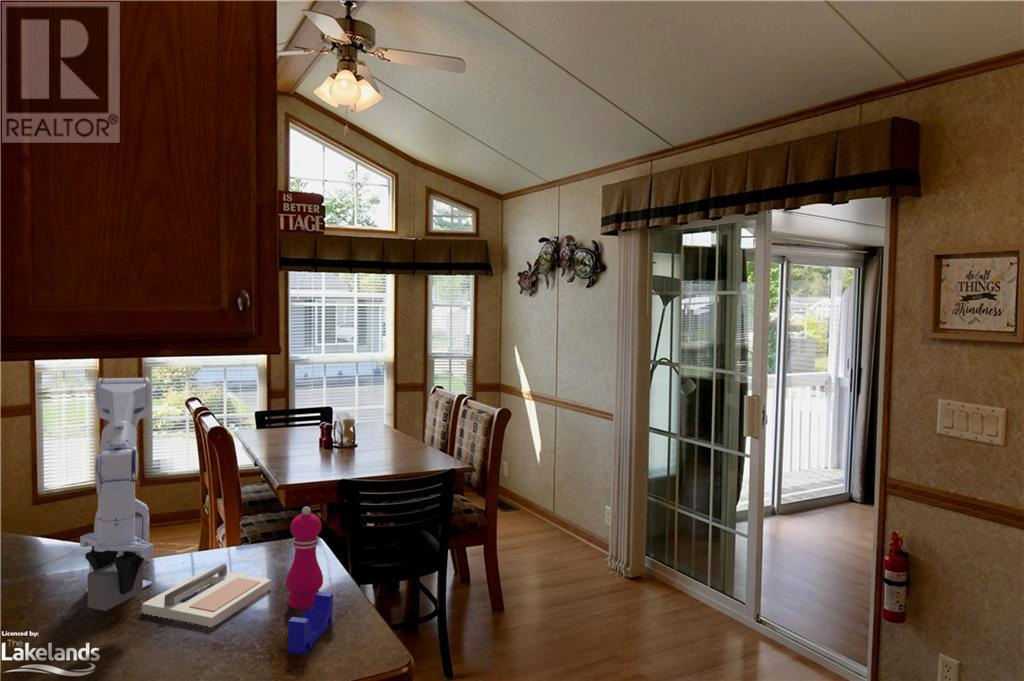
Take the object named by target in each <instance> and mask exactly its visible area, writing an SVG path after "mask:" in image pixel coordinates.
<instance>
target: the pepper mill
mask: <svg viewBox="0 0 1024 681" xmlns="http://www.w3.org/2000/svg"><path fill="white" fill-rule="evenodd" d="M311 512H312V510H311V507H309V506H304V507H303V508H302V509H301V513H300V514H298V515H296V516H295V517H294V518H293V519H292V520H291V523H290V529H289V530H290V534H291V535H292V536H293V538H292V546H293V547H294V556H293V557H294V558H293V561H292V564H291V567H290V568H289V571H288V573H287V576H286V582H285V583H286V584H285V587H286V589H287V591H288V592H289V593H288V598H287V600H288V602H287V605H288V607H290V608H291V609H295V610H307V609H308V608H309V607H310V606H314V600H315V594H316V593H317V592H318V591H319V590H320V589H321V587H323V584H324V575H323V572H322V570H321V567H320V565H319V562H318V558H317V546H318V545H319V536H318V535H319V534H320V532H321V530H322V522H321V519H320V517H319V516H318V515H316V514H314V513H311Z"/></svg>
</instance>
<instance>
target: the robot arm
mask: <svg viewBox="0 0 1024 681" xmlns="http://www.w3.org/2000/svg"><path fill="white" fill-rule="evenodd" d="M94 387H95V391H94V392H95V393H94V396H95V397H94V398H95V399H94V400H95V406H96V411H97V414H98V417H99V418H100V419H101V420H105V421H108V422H109V423H108V424H107V425H105V426H104V427H103V429H102V431H101V438H100V447H99V454H98V453H96V454H95V459H94V478H95V483H96V495H97V498H98V499H97V510H96V513H95V520H94V525H93V532H89V533H86V534H84V535H83V534H82V535H81V536H80V538H79V539H80V540H79V547H81V548H88V547H90V548H91V549H90V551H89V552H86V553H85V555H84V558H85V559H86V561H87V562H88V574H89V573H91V572H93V571H95V570H98V569H100V568H102V567H104V566H107V565H109V564H111V563H113V562H114V563H115V565H116V568H117V571H118V576H119V589H120V593H121V594H126V593H128V592H130V591H132V590H133V586H134V583H135V579H136V576H137V573H138V571H139V568H140V566H141V564H142V563H143V564H144V561H145V559H146V558H149V557H151V556H153V555H154V554H155V552H154V550H155V548H154V547H155V544H154V543H151V542H149V540H150V513H149V510H150V509H149V507H148V505H147V504H146V503H145V502H143V501H141V500H139V499H137V497H136V481H137V478H138V475H139V453H138V450H137V449H138V448H137V446H138V445H137V438H138V431H137V427H138V425H139V422H140V420H142V419H144V418H146V417H148V416H149V412H150V409H151V406H150V405H151V379H150V378H149V377H148V376H145V377H119V378H118V377H116V378H111V377H110V378H108V377H107V378H103V377H98V379H97V380H96V381H95V386H94ZM152 584H153V582H152V581H150V580H146V579H143V589H145V588H147V587H149V586H150V585H152ZM85 593H88V588H86V589H85Z"/></svg>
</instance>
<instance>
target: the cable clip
mask: <svg viewBox="0 0 1024 681" xmlns="http://www.w3.org/2000/svg"><path fill="white" fill-rule="evenodd" d="M333 604H334V592H327V591H319V590H318V592H317V593H316V594H315V600H314V606H310V607H309V608H308V609H305V611H303V615H302V616H301V617H297V616H292V617H291V618H290V619H289V620H288V627H287V628H288V629H287V635H288V637H287V653H288V654H295V655H302V656H304V655H305V654H306V653H307V652H308V651H309V650H310V649H311V647H313V645H314V643H316V642H317V641H318V640H319V638H320V637H321V636H323V634H324V632H326V631H327V629H328V628H329V627H330V626H331V625H332V624H333V612H334V611H333V606H334V605H333Z"/></svg>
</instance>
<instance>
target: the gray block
mask: <svg viewBox="0 0 1024 681" xmlns="http://www.w3.org/2000/svg"><path fill="white" fill-rule="evenodd" d="M143 564H144V562H143V563H142V564H141V566H140V568H139V571H138V573H137V576H136V579H135V583H134V586H133V590H132V591H130V592H128V593H126V594H121V593H120V589H119V576H118V571H117V568H116V565H115V563H114V562H113V563H111V564H109V565H107V566H104V567H102V568H100V569H98V570H95V571H93V572H91V573H89V572H88V573H87V589H88V592H87V608H90V609H94V610H98V611H99V610H100V611H104V612H107V611H109V610H110V609H113V608H114V607H116V606H118V605H120V604H122V603H124V602H127V601H128V600H130V599H132V598H134V597H135V596H138V595H140V594H142V593H143V590H144V588H143V580H144V579H143V578H144V576H143V574H144V573H143V572H144V569H143V568H144V567H143Z"/></svg>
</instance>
